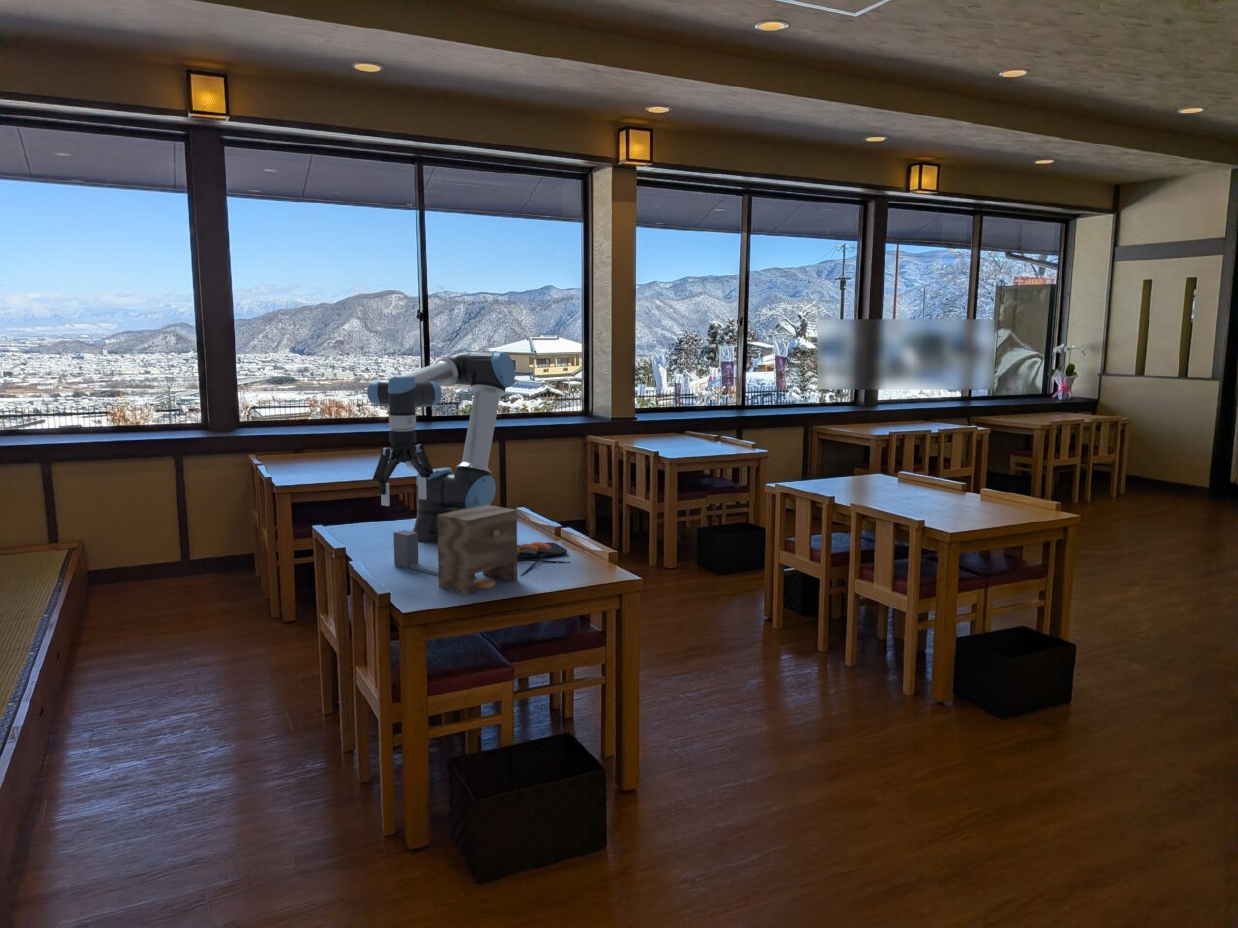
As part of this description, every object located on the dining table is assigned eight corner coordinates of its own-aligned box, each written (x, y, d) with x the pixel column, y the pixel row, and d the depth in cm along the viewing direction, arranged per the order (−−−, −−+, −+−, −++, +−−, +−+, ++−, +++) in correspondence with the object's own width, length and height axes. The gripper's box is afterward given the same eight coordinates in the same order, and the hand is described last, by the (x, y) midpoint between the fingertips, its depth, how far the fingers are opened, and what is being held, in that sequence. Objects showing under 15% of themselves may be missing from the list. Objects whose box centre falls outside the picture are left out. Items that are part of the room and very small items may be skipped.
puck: (468, 586, 233) (468, 582, 232) (483, 581, 237) (483, 577, 237) (483, 590, 229) (483, 586, 229) (499, 585, 234) (499, 581, 234)
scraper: (387, 567, 250) (386, 533, 249) (411, 560, 257) (410, 528, 256) (451, 583, 234) (450, 548, 233) (475, 576, 241) (474, 541, 240)
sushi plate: (553, 547, 278) (553, 535, 278) (590, 570, 251) (590, 557, 251) (466, 556, 266) (466, 544, 265) (495, 580, 239) (495, 567, 239)
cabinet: (438, 587, 231) (437, 514, 228) (486, 572, 245) (485, 504, 242) (473, 596, 223) (472, 521, 220) (520, 580, 237) (520, 510, 234)
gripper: (375, 433, 234) (377, 510, 237) (444, 427, 254) (445, 497, 257) (358, 431, 238) (360, 506, 241) (427, 425, 258) (428, 494, 261)
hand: (404, 502), depth 249 cm, fingers open, 13 cm apart
